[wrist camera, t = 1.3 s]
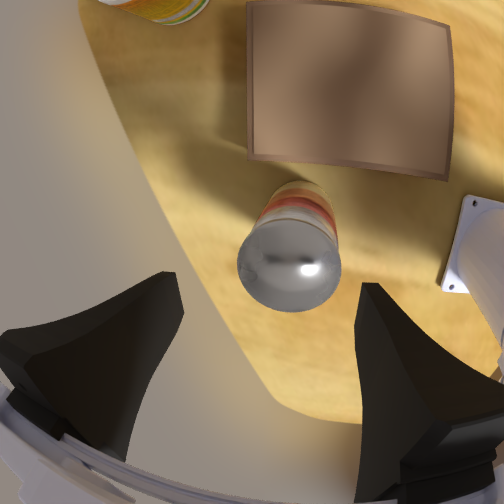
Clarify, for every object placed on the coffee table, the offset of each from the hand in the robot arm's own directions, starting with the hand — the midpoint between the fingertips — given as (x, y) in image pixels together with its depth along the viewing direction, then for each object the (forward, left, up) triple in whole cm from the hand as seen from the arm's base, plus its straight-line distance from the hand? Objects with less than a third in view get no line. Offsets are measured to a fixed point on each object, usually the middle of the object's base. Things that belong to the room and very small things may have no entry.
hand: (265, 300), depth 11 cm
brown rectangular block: (-4, -9, -10) cm, 14 cm away
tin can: (-1, 0, -10) cm, 10 cm away
